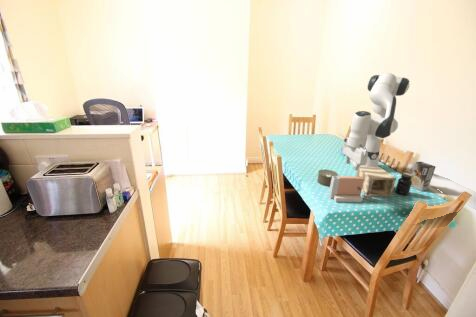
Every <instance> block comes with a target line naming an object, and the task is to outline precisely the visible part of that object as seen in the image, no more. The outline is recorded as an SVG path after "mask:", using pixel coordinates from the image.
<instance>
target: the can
mask: <svg viewBox="0 0 476 317" xmlns="http://www.w3.org/2000/svg"><path fill="white" fill-rule="evenodd" d="M332 176H339V174H338V172H336V171H334V170H331V169H320V170H318V175H317V183H318V184H319V185H321V186H324V187H329V188H330V184H331V179H332Z"/></svg>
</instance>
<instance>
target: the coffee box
mask: <svg viewBox="0 0 476 317" xmlns="http://www.w3.org/2000/svg"><path fill="white" fill-rule="evenodd" d="M435 169H436V166H435V165H433V164H429V163H426V162H424V161H416V162H414V164H413V166H412V169H411V170H412V171H411V173H410V176H411V181H412V184H411V188H414V189H416V190H418V191H421V192H424V190H425V191H428V190H429V187H430V184H431V181H432V179H433V175H434V173H435Z"/></svg>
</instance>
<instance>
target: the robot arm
mask: <svg viewBox="0 0 476 317" xmlns="http://www.w3.org/2000/svg"><path fill="white" fill-rule="evenodd" d="M367 90H368V92H369V99H370V101H371V102H372V103H373V107H372V110H373V112H374V113H376V114H377V115H379V116H372V113H371V112H370V111H365V110H361V111H360V110H359V111H356V112H354V113H353V117H352V121H351V124H350V127H349V130H350V133H349V134H348V137H344V138H343V144H342V153H343V154H344V156H345V163H346V164H347V165H350V164H352V165H353V170H354V171H358V169H359V167H380V166H379V162H380V157H379V156H380V149H381V146H382V140H381V139H386V138H389V137H390V136H391V134H393V133H395V132H396V131H397V129H398V128H399V123H398V121H397V119H395V112H396V107H397V98H396V97H398V96H399V97H400V96H404V95H405V94H406V93H407V92H408V90H410V80H409V78H406V77H400V76H396V75H395V74H393V73H390V72H386V73H383V74H381V75H380V74H375V75H374V74H373V76H371V77H370V78H369V79H368V81H367Z"/></svg>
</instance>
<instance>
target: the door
mask: <svg viewBox="0 0 476 317" xmlns="http://www.w3.org/2000/svg"><path fill="white" fill-rule="evenodd" d="M363 183H364V178H363V177H356V176H344V175H343V176H339V175H338V176H332V179H331V184H330V187H329V191H328V195H327V196H328V198H329V199H330V200H334V195H347V196H361V195H362V192H363V191H362V187H363Z"/></svg>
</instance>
